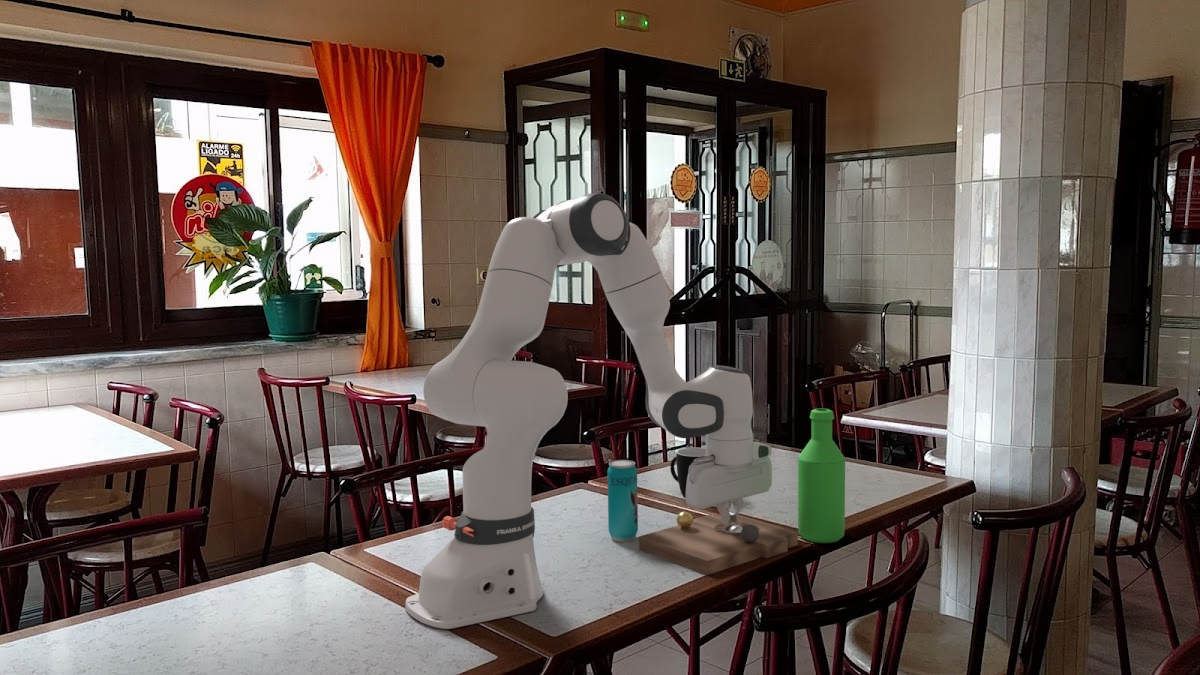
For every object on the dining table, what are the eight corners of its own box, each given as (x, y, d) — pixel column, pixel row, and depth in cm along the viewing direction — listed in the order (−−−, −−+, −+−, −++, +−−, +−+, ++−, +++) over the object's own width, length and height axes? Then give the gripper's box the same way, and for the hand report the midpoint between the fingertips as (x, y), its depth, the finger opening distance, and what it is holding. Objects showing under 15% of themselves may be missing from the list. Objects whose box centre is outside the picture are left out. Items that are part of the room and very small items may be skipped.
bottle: (852, 536, 178) (854, 409, 175) (830, 547, 171) (831, 415, 169) (812, 527, 184) (813, 404, 181) (789, 538, 177) (789, 410, 175)
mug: (724, 495, 208) (724, 451, 207) (698, 503, 202) (698, 458, 201) (684, 485, 217) (683, 443, 216) (658, 493, 211) (658, 450, 210)
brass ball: (684, 531, 174) (684, 515, 174) (673, 527, 177) (673, 511, 177) (696, 528, 176) (696, 511, 176) (685, 524, 179) (685, 508, 179)
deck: (711, 576, 157) (711, 562, 157) (635, 548, 173) (635, 535, 173) (801, 546, 172) (801, 533, 172) (724, 522, 188) (724, 510, 188)
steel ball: (734, 539, 173) (742, 524, 174) (722, 535, 175) (729, 520, 176) (743, 546, 175) (750, 531, 176) (731, 542, 177) (738, 528, 178)
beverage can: (635, 543, 176) (634, 466, 174) (606, 542, 177) (604, 466, 175) (640, 534, 181) (639, 459, 180) (611, 533, 182) (610, 459, 181)
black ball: (750, 546, 165) (750, 528, 165) (737, 541, 168) (737, 524, 168) (762, 542, 167) (762, 525, 167) (749, 538, 170) (749, 521, 170)
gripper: (701, 463, 164) (702, 538, 165) (777, 445, 177) (777, 515, 178) (677, 457, 169) (678, 530, 170) (752, 440, 181) (753, 508, 183)
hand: (729, 522), depth 174 cm, fingers closed
